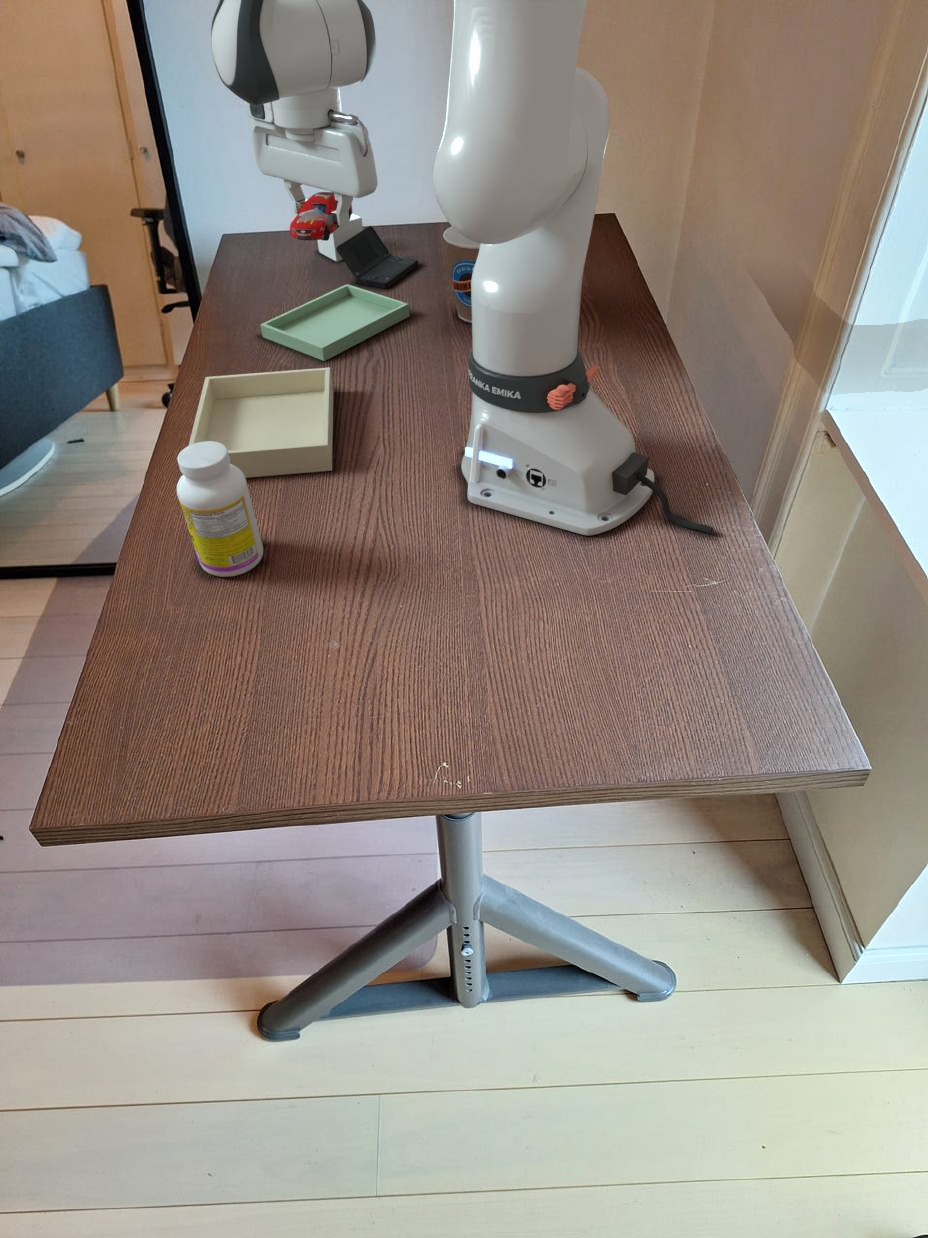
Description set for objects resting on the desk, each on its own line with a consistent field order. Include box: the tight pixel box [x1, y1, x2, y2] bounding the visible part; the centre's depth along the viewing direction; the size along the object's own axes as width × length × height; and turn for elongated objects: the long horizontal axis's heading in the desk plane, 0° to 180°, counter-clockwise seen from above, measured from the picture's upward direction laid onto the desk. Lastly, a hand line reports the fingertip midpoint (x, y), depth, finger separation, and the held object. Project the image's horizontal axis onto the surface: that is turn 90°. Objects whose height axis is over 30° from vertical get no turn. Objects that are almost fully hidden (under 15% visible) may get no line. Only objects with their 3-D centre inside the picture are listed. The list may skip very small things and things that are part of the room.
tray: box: [260, 283, 410, 362], centre depth 128 cm, size 13×18×2 cm
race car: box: [289, 191, 353, 241], centre depth 117 cm, size 13×5×4 cm, turn 163°
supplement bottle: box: [176, 441, 264, 578], centre depth 84 cm, size 7×7×13 cm
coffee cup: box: [442, 225, 481, 324], centre depth 126 cm, size 10×10×12 cm
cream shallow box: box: [188, 367, 334, 478], centre depth 105 cm, size 19×16×4 cm
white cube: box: [316, 212, 364, 263], centre depth 149 cm, size 6×6×6 cm
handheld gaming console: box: [336, 225, 419, 290], centre depth 142 cm, size 12×7×10 cm
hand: (321, 219), depth 118 cm, fingers closed on race car, 6 cm apart
